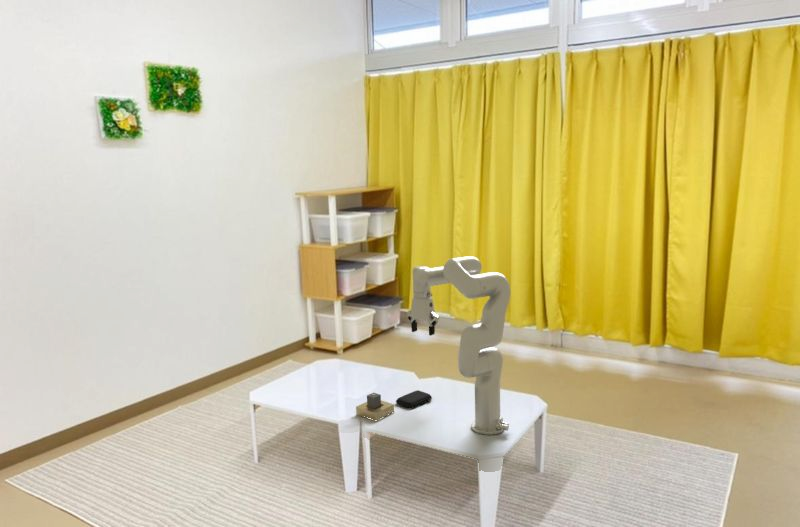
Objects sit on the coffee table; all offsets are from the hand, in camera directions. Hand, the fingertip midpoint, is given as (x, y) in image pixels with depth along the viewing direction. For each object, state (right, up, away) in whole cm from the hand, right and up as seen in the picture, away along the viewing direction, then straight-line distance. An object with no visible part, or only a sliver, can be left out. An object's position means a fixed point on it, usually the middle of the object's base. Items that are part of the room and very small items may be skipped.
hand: (423, 333), depth 243 cm
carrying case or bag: (-4, -30, -4) cm, 30 cm away
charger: (-21, -31, -15) cm, 40 cm away
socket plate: (-20, -31, -14) cm, 40 cm away
